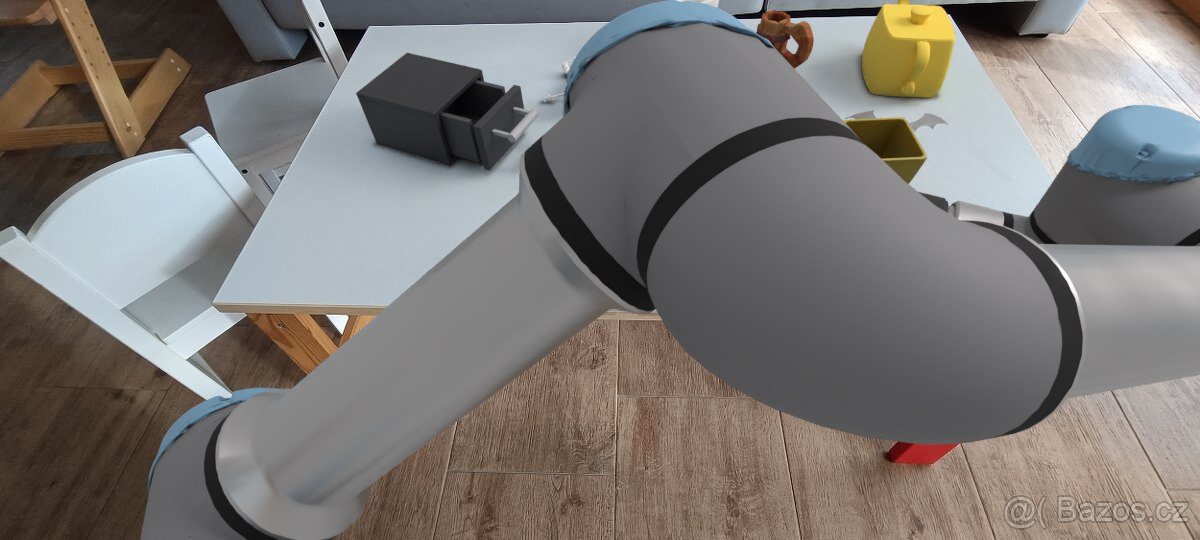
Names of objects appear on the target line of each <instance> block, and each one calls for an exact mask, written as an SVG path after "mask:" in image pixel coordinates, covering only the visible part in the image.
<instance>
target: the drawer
mask: <svg viewBox="0 0 1200 540" xmlns="http://www.w3.org/2000/svg"><path fill="white" fill-rule="evenodd" d="M523 98H524V97H523V92H522V87H521V86H520V85H517V84H513V85H512V86H511V87H510V88H509V89H508V90H507V91H506V88H505V86H503V85H500V84H495V83H491V82H488V81H484V82H483V81H479V80H476V81H475V82H474V83H473V84H472V85H471V86H470V87H469V88H468V89H466V90H465V91H464V92H463V93H462V94H461V95H460V96H459V97H458V98H457V99H456V100H455V101H454V102H453V103H452V104H451V105H449V106H448V107H447V108H446V109H445V110H444V111H443V112H442V113H441V114H440V115H439V118H440V121H441V125H442V128H443V131H444V135H445V138H446V141H447V145H448V148H449V151H450V154H452V155H455V156H459V157H458V158H462V159H466V160H469V161H473V162H476V163H479V162H481V163H482V167H483V169H484V170H488V171H491V170H492V169H494V167H495V166H496V164H497V163H499V161H500V160H501V159H502V158H503V157H504V156H505V155H506V153H507V152H508V151H509V150H510V149H511V148H512V147H513V145H515V143H516V142H517V141H518V140H519V139H520V138H521V137H522V136H523V134H524V133H525V132H526V131H527V130H528V128H529V127H530V126H531V125H532V124H533V123H534V122H535V120H536V119H537V118H539V115H540V113H539V110H538V109H536V108H531V109H530V110H529V109H525V105H524V100H523Z"/></svg>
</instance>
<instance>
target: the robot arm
mask: <svg viewBox="0 0 1200 540" xmlns="http://www.w3.org/2000/svg"><path fill="white" fill-rule="evenodd" d="M756 32H757V31H755V30H754V29H751V28H750V27H748V26H746V25H744V24H743V23H742V22H741V21H740V20H739V19H738V18H736V17H735V16H734V15H732V14H730V13H729V12H727V11H726V10H724V9H721V8H720V7H718V8H717V7H714V6H711V5H708V4H705V3H701V2H692V1H683V2H680V1H675V0H670V1H669V0H664V1H663V0H662V1H656V2H651V3H648V4H645V5H642V6H639V7H635V8H633V9H630V10H628V11H626V12H624V13H622V14H620V15H618V16H617V17H615V18H614V19H612V20H610V21H608V23H606V24H604V25H603V26H602V27H600V29H598V30H597V31H596V32H595V33H594V34H593V35H592V36H590V38H589V39H588V40H587V41H586V43H585V44H584V45H583V46H582V47H581V48H580V50H579V51H578V53H577V54H576V56H575V57H576V58H575V59H574V61H573V60H572V63H571V65H570V70H569V72H568V75H567V74H566V80H565V81H566V85H565V88H564V90H563V92H564V95H563V106H564V107H563V111H562V112H563V113H562V118H560V119H559V120H558V121H557V122H555V124H554V125H552V126H551V128H549V129H548V130H547V131H546V132H545V133H543V134H542V135H541V136H540V137H539V138H538V139H537V140H536V141H534V142H533V144H531V145H530V146H529V147H528V148H527V149H526V150H525V151H524V152H523V153H522V154H521V155H520V158H519V173H518V174H519V178H518V179H519V181H518V182H519V183H518V192H517V194H516V195H515V196H514V197H513V198H512V199H510V200H509V201H508V202H507V203H506V204H505V205H503V206H502V207H501V208H500V209H498V210H497V211H496V212H495V213H493V215H492V216H490V217H489V219H487V220H486V221H484V222H483V224H481V225H480V226H479V227H478V228H476V230H474V231H473V232H472V233H471V234H470V235H468V236H467V237H466V238H465V239H464V240H463V241H461V243H459V244H458V245H457V246H456V247H455V248H454V249H452V250H451V251H450V252H449V253H448V254H447V255H445V256H444V257H443V258H442V259H441V260H440V261H438V262H437V263H436V264H435V265H434V266H433V267H431V268H430V269H429V270H427V272H426V273H424V274H423V275H422V276H421V277H420V278H418V279H417V280H416V281H415V282H414V283H413V284H411V286H409V287H408V288H406V290H405V291H403V292H402V293H401V294H400V295H399V296H397V298H395V299H394V300H393V301H392V302H391V303H389V304H388V305H387V306H386V307H385V308H384V309H383V310H382V311H380V312H379V313H378V314H377V315H375V317H373V318H372V319H371V320H370V321H369V322H368V323H366V324H365V325H364V326H363V327H361V328H360V330H359V329H358V331H357V332H356V333H354V334H353V335H352V336H351V337H350V338H349V339H348V340H347V341H345V343H343V344H342V345H341V346H339V347H338V348H337V349H336V350H335V351H334V352H333V353H331V354H330V355H329V356H328V357H327V358H326V359H324V360H323V361H322V362H321V363H320V364H318V366H316V367H315V368H314V369H313V370H312V371H311V372H309V373H308V374H307V375H306V376H305V377H303V378H302V379H301V380H300V381H299V382H298V383H297V384H296V385H294V386H293V387H292V388H277V387H251V388H244V389H237V390H234V391H233V392H232V394H231V397H224V396H221V395H217V396H213V397H211V398H208V399H205V400H203V401H202V402H201V403H200V402H199V403H198V404H196V405H194V406H193V407H191V408H190V409H188V410H187V411H186V412H184V413H183V414H182V415H181V416H179V418H178V419H176V420H175V421H174V422H173V424H171V426H170V427H169V428H168V430H166V431H167V432H166V433H165V435H164V436H163V438H162V440H161V443H160V445H159V447H158V452H157V455H156V457H155V458H154V460H153V463H152V465H151V468H150V471H149V474H148V482H147V492H148V497H147V501H146V508H145V513H144V517H143V523H142V529H141V533H140V539H139V540H333V539H335V538H336V537H337V536H339V535H340V534H342V533H344V532H345V531H346V530H348V528H351V526H352V525H353V524H354V523H355V522H356V521H357V520H358V519H359V518H360V516H361V515H362V513H363V512H364V510H365V509H366V506H367V504H368V502H369V499H370V496H371V492H372V487H373V484H374V483H376V482H377V481H378V480H380V479H381V478H382V477H383V476H385V475H386V474H388V473H389V472H390V471H392V470H393V469H395V468H396V467H397V466H398V465H400V464H401V463H402V462H405V460H406V459H408V458H410V457H411V456H412V455H413V454H414V453H416V452H418V451H419V450H420V449H422V448H423V447H424V446H426V445H427V444H429V443H430V442H431V441H432V440H434V439H435V438H436V437H438V436H439V435H442V433H444V432H445V431H446V430H447V429H450V428H451V427H452V426H453V425H455V424H456V423H458V421H460V420H462V419H463V418H464V417H465V416H467V415H468V414H469V413H471V412H472V411H474V410H475V409H476V408H478V407H479V406H481V405H482V404H483V403H485V402H486V401H487V400H489V399H490V398H492V397H493V396H494V395H495V394H496V393H498V392H500V391H501V390H502V389H503V388H505V387H506V386H508V385H509V384H511V383H512V382H513V381H514V380H516V379H517V378H518V377H520V376H522V375H523V374H524V373H525V372H527V371H529V370H530V369H531V368H532V367H533V366H535V365H536V364H538V363H539V362H540V361H542V360H543V359H544V358H547V356H549V355H550V354H551V353H553V352H554V351H555V350H557V349H558V348H559V347H561V346H562V345H564V344H565V343H566V342H568V341H569V340H571V339H572V338H573V337H574V336H576V335H577V334H579V333H580V332H581V331H583V330H584V329H585V328H588V326H589V325H591V324H592V323H594V322H595V321H596V320H598V319H599V318H601V317H602V316H603V315H604V314H606V313H607V312H609V311H610V310H612V311H613V310H618V311H621V312H627V313H632V314H636V315H643V316H645V315H649V314H650V313H653V312H654V311H656V312H657V314H658V315H659V317H660V319H661V321H662V323H663V325H664V326H665V328H666V329H667V330H668V331H669V333H670V334H671V335H672V337H673V338H674V339H675V340H676V342H677V343H678V344H679V345H680V346H681V348H682V350H683V351H684V352H685V353H687V354H688V355H689V356H690V357H691V358H692V359H693V360H695V361H696V362H697V363H698V364H699V365H700V366H702V367H703V368H704V369H705V370H706V371H708V372H709V373H711V374H712V375H714V376H715V377H716V378H718V379H719V380H720V381H722V382H723V383H725V384H726V385H728V386H730V387H731V388H733V389H735V390H736V391H738V392H740V393H741V394H743V395H745V396H747V397H749V398H751V399H753V400H755V401H757V402H759V403H761V404H763V405H765V406H767V407H769V408H771V409H773V410H775V411H777V412H780V413H784V414H786V415H789V416H792V417H795V418H797V419H800V420H803V421H805V422H808V423H811V424H812V425H813V424H814V425H815V426H819V427H823V428H827V429H830V430H834V431H835V430H836V431H838V432H842V433H846V434H851V435H856V436H859V437H864V438H870V439H875V440H876V439H877V440H882V441H883V440H884V441H890V442H891V441H892V442H898V443H908V444H915V445H923V446H924V445H956V444H968V443H969V444H970V443H975V442H980V441H986V440H991V439H996V438H999V437H1000V438H1001V437H1007V436H1010V435H1011V436H1012V435H1015V434H1018V433H1022V432H1025V431H1027V430H1029V429H1031V428H1034V427H1036V426H1038V425H1040V424H1041V423H1043V422H1044V421H1046V420H1048V419H1049V418H1051V416H1052V415H1054V414H1055V413H1056V412H1057V411H1058V410H1059V409H1061V408H1062V406H1063V405H1064V403H1065V402H1066V401H1067V400H1068V399H1074V398H1078V397H1079V398H1080V397H1084V396H1089V395H1095V394H1100V393H1106V392H1112V391H1113V392H1114V391H1118V390H1124V389H1129V388H1135V387H1140V386H1146V385H1151V384H1152V385H1153V384H1158V383H1164V382H1169V381H1174V380H1175V381H1176V380H1180V379H1185V378H1191V377H1197V376H1200V121H1199V120H1198V119H1197V118H1195V117H1193V116H1191V115H1188V114H1186V113H1184V112H1181V111H1178V110H1175V109H1171V108H1167V107H1163V106H1158V105H1150V104H1132V105H1131V104H1130V105H1126V106H1123V107H1118V108H1115V109H1111V110H1109V111H1107V112H1106V113H1104V114H1103V115H1102V116H1100V117H1099V118H1098V119H1097V120H1096V121H1095V123H1094V124H1093V125H1092V126H1091V128H1090V129H1089V130H1088V131H1087V133H1086V134H1085V135H1084V137H1083V138H1082V139H1081V140H1080V142H1078V144H1077V145H1076V147H1074V148H1073V149H1072V150H1070V151H1069V154H1068V155H1067V158H1066V161H1065V162H1064V164H1063V165H1062V167H1061V169H1060V170H1059V172H1058V173H1057V175H1055V177H1054V179H1053V181H1052V182H1051V184H1050V185H1049V187H1048V188H1047V189H1046V191H1045V193H1044V194H1043V196H1042V197H1041V198H1040V200H1039V201H1038V203H1037V204H1036V205H1035V207H1034V209H1033V210H1032V211H1031V212H1030V214H1029V216H1025V215H1020V214H1017V213H1009V212H1005V211H1001V210H998V209H993V208H990V207H985V206H982V205H977V204H973V203H969V202H965V201H962V200H957V201H954V202H952V203H951V204H950V205H949V201H948V200H946V198H945V197H942V196H937V195H933V194H929V193H925V192H921V191H917V189H915V188H914V187H912V186H911V185H910V183H909V184H907V183H906V182H905V181H904V180H903V179H902V178H901V177H900V176H899V175H898V174H897V173H896V172H894V171H893V170H892V169H891V168H890V167H889V166H888V165H887V164H886V163H885V162H884V161H883V160H882V159H881V158H880V157H879V156H878V155H877V154H876V153H874V152H873V151H872V150H871V149H870V148H868V147H867V146H866V145H865V144H864V143H863V142H862V141H861V140H860V139H859V138H858V136H857V135H856V134H855V133H854V132H853V131H852V130H851V129H850V128H849V127H848V125H847V124H846V123H845V122H844V121H843V120H844V119H842V118H841V117H840V116H839V115H838V113H837V112H835V110H834V109H833V108H832V107H831V106H830V105H829V104H828V103H827V102H826V101H825V100H824V99H823V98H822V96H820V95H819V94H818V92H817V91H816V90H815V89H814V88H813V87H812V86H811V85H810V84H809V83H808V82H807V81H806V80H805V78H804V77H802V75H801V74H800V73H799V72H798V71H797V70H796V68H793V67H792V66H791V65H790V64H789V63H788V62H787V61H786V59H785V58H784V57H783V56H782V55H781V54H780V53H779V52H778V51H777V50H776V49H775V48H774V47H773V45H772V44H771V43H770V41H769V40H767V39H766V38H763V37H761V36H760V35H758V34H757V33H756Z"/></svg>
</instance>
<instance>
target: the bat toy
mask: <svg viewBox="0 0 1200 540" xmlns="http://www.w3.org/2000/svg"><path fill="white" fill-rule="evenodd" d="M875 118H877V117H876V116H875V110H873V109H872V110H867V111H862V112H858V113H855V114H852V115H850V116H846V117H845V118H844V120H848V119H875ZM908 123H909V124H910V126H911V128H912V130H913V132H914V133H915V132H916V131H917V130H918V129H919V128H921V127H925V126H926V127H930V129H932V130H934V128H935V126H937V125H938V124H945V125H946V126H948V125H949V123H948V122H947V121H946V119H944V118H942V117H940V116H938V115H936V114H933V113H929V112H924V114H923V115H922V116H921V117H919V119H917V120H914V121H911V122H908Z"/></svg>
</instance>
